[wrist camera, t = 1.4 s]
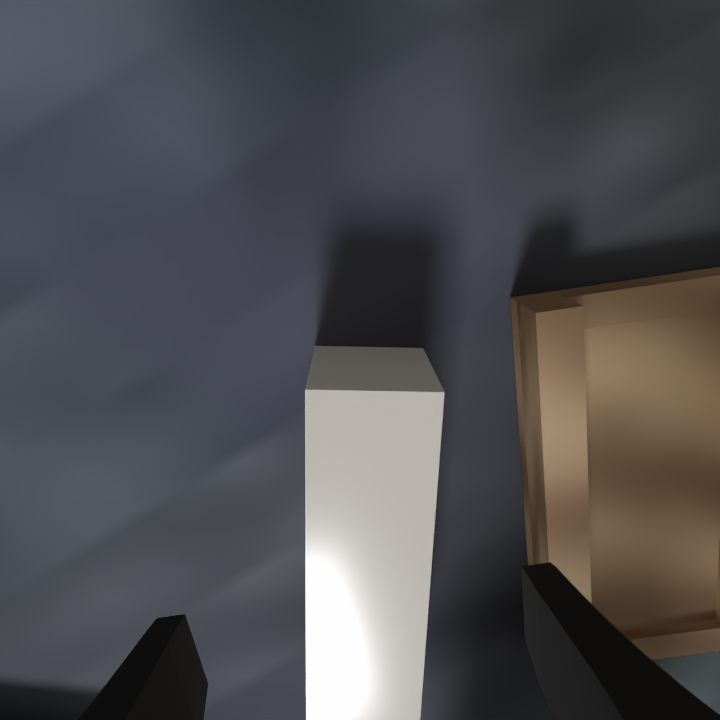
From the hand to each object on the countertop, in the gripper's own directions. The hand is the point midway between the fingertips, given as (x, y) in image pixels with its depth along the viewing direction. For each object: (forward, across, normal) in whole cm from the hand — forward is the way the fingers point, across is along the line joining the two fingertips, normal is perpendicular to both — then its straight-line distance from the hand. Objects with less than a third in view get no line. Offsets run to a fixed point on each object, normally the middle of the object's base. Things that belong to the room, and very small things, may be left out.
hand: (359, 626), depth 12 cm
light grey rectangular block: (+10, 0, +4) cm, 11 cm away
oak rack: (+10, -11, +4) cm, 15 cm away
